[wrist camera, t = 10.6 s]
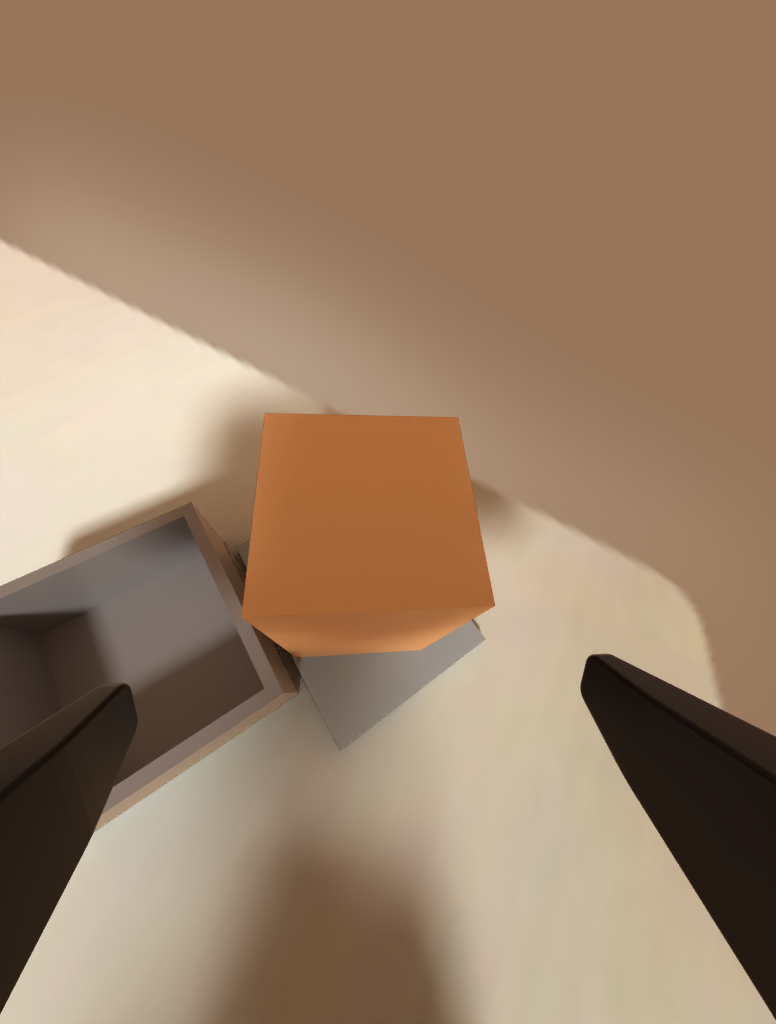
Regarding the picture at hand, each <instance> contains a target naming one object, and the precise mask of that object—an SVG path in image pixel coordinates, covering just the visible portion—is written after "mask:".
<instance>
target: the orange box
mask: <svg viewBox="0 0 776 1024" xmlns="http://www.w3.org/2000/svg"><path fill="white" fill-rule="evenodd" d="M494 606H495V603H494V598H493V593H492V588H491V582H490V577H489V572H488V567H487V562H486V557H485V552H484V547H483V542H482V537H481V532H480V527H479V522H478V517H477V511H476V506H475V501H474V496H473V491H472V486H471V481H470V476H469V471H468V466H467V461H466V456H465V451H464V446H463V441H462V435H461V431H460V425H459V420H458V417H457V418H456V417H412V416H410V417H409V416H367V415H366V416H365V415H321V414H274V413H265V418H264V427H263V435H262V444H261V452H260V461H259V470H258V478H257V487H256V496H255V504H254V513H253V521H252V530H251V539H250V547H249V556H248V565H247V573H246V582H245V590H244V599H243V608H242V616H241V617H242V618H243V619H245V620H246V621H247V622H249V623H250V624H251V625H253V626H254V627H255V628H257V629H258V630H260V631H261V632H262V633H264V634H265V635H266V636H268V637H269V638H270V639H272V640H273V641H274V642H276V643H277V644H279V645H280V646H281V647H283V648H284V649H285V650H287V651H288V652H289V653H291V654H292V655H293V656H295V657H296V658H297V657H314V656H331V655H348V654H365V653H382V652H399V651H415V650H422V649H423V648H425V647H427V646H428V645H430V644H432V643H433V642H435V641H437V640H438V639H440V638H442V637H443V636H445V635H447V634H448V633H450V632H452V631H454V630H455V629H457V628H459V627H460V626H462V625H464V624H465V623H467V622H469V621H470V620H472V619H474V618H475V617H477V616H479V615H480V614H482V613H484V612H485V611H487V610H489V609H490V608H492V607H494Z"/></svg>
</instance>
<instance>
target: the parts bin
mask: <svg viewBox="0 0 776 1024" xmlns="http://www.w3.org/2000/svg"><path fill="white" fill-rule="evenodd" d="M244 590H245V585H244V583H243V581H242V579H241V577H240V575H239V573H238V571H237V569H236V567H235V565H234V563H233V561H232V559H231V557H230V555H229V553H228V551H227V549H226V547H225V545H224V543H223V541H222V540H221V538H220V537H219V536H218V535H217V533H216V532H215V531H214V530H213V528H212V527H211V526H210V525H209V523H208V522H207V521H206V520H205V518H204V517H203V516H202V515H201V514H200V512H199V511H198V510H197V509H196V507H195V506H194V505H193V504H192V502H191V503H189V504H186V505H184V506H182V507H180V508H177V509H175V510H173V511H170V512H168V513H166V514H164V515H161V516H159V517H157V518H154V519H152V520H150V521H148V522H145V523H143V524H141V525H139V526H136V527H134V528H132V529H129V530H127V531H125V532H123V533H120V534H118V535H116V536H113V537H111V538H109V539H107V540H104V541H102V542H100V543H98V544H95V545H93V546H91V547H88V548H86V549H84V550H82V551H79V552H77V553H75V554H72V555H70V556H68V557H66V558H63V559H61V560H59V561H56V562H54V563H52V564H50V565H47V566H45V567H43V568H41V569H38V570H36V571H34V572H31V573H29V574H27V575H25V576H22V577H20V578H18V579H15V580H13V581H11V582H9V583H6V584H4V585H2V586H0V748H1V747H3V746H5V745H6V744H8V743H9V742H11V741H12V740H14V739H16V738H17V737H19V736H20V735H22V734H24V733H25V732H27V731H28V730H30V729H32V728H33V727H35V726H36V725H38V724H40V723H41V722H43V721H44V720H46V719H48V718H49V717H51V716H52V715H54V714H56V713H57V712H59V711H60V710H62V709H63V708H65V707H67V706H68V705H70V704H71V703H73V702H75V701H76V700H78V699H79V698H81V697H83V696H84V695H86V694H87V693H89V692H91V691H92V690H94V689H95V688H97V687H99V686H101V685H105V684H117V683H125V684H128V685H129V686H130V687H131V690H132V695H133V699H134V703H135V707H136V712H137V716H138V725H137V729H136V733H135V735H134V738H133V740H132V742H131V745H130V747H129V750H128V752H127V755H126V757H125V759H124V762H123V764H122V767H121V769H120V771H119V774H118V776H117V779H116V781H115V783H114V786H113V788H112V791H111V793H110V795H109V798H108V800H107V803H106V805H105V808H104V810H103V812H102V815H101V817H100V819H99V821H98V824H97V826H96V828H95V831H96V830H98V829H99V828H101V827H102V826H104V825H105V824H107V823H108V822H110V821H111V820H113V819H114V818H115V817H117V816H118V815H120V814H121V813H123V812H124V811H126V810H127V809H129V808H130V807H132V806H133V805H135V804H136V803H138V802H139V801H141V800H142V799H143V798H145V797H146V796H148V795H149V794H151V793H152V792H154V791H155V790H157V789H158V788H160V787H161V786H163V785H164V784H166V783H167V782H169V781H170V780H172V779H173V778H174V777H176V776H177V775H179V774H180V773H182V772H183V771H185V770H186V769H188V768H189V767H191V766H192V765H194V764H195V763H197V762H198V761H200V760H201V759H202V758H204V757H205V756H207V755H208V754H210V753H211V752H213V751H214V750H216V749H217V748H219V747H220V746H222V745H223V744H225V743H226V742H228V741H229V740H230V739H232V738H233V737H235V736H236V735H238V734H239V733H241V732H242V731H244V730H245V729H247V728H248V727H250V726H251V725H253V724H254V723H256V722H257V721H259V720H260V719H261V718H263V717H264V716H266V715H267V714H269V713H270V712H272V711H273V710H275V709H276V708H278V707H279V706H281V705H282V704H284V703H285V702H287V701H288V700H289V699H291V698H292V697H294V696H295V695H297V694H298V691H297V689H296V687H295V685H294V683H293V681H292V679H291V677H290V675H289V673H288V671H287V669H286V667H285V665H284V663H283V661H282V659H281V657H280V655H279V653H278V651H277V649H276V647H275V645H274V643H273V641H272V639H270V638H269V637H268V636H266V635H265V634H264V633H262V632H261V631H260V630H258V629H257V628H255V627H254V626H253V625H251V624H250V623H249V622H247V621H246V620H245V619H243V618H242V617H241V616H242V608H243V599H244ZM95 831H94V832H95Z"/></svg>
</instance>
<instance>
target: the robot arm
mask: <svg viewBox="0 0 776 1024" xmlns="http://www.w3.org/2000/svg"><path fill="white" fill-rule="evenodd" d="M581 694H582V697H583V699H584V701H585V703H586V705H587V707H588V709H589V711H590V713H591V715H592V717H593V719H594V721H595V723H596V725H597V726H598V728H599V730H600V732H601V734H602V736H603V738H604V740H605V742H606V744H607V746H608V748H609V750H610V751H611V753H612V755H613V757H614V759H615V761H616V763H617V765H618V767H619V768H620V770H621V772H622V774H623V776H624V777H625V779H626V781H627V782H628V784H629V786H630V787H631V789H632V791H633V792H634V794H635V796H636V797H637V799H638V800H639V802H640V804H641V805H642V807H643V808H644V810H645V812H646V813H647V815H648V816H649V818H650V820H651V821H652V823H653V824H654V826H655V828H656V829H657V831H658V832H659V834H660V836H661V837H662V839H663V840H664V842H665V844H666V845H667V847H668V848H669V850H670V852H671V853H672V855H673V856H674V858H675V860H676V861H677V863H678V864H679V866H680V868H681V869H682V871H683V872H684V874H685V876H686V877H687V879H688V880H689V882H690V884H691V885H692V887H693V888H694V890H695V892H696V893H697V895H698V896H699V898H700V900H701V901H702V903H703V904H704V906H705V908H706V909H707V911H708V912H709V914H710V916H711V917H712V919H713V920H714V922H715V924H716V925H717V927H718V928H719V930H720V932H721V933H722V935H723V936H724V938H725V940H726V941H727V943H728V944H729V946H730V948H731V949H732V951H733V952H734V954H735V956H736V957H737V959H738V960H739V962H740V964H741V965H742V967H743V968H744V970H745V972H746V973H747V975H748V976H749V978H750V980H751V981H752V983H753V984H754V986H755V988H756V989H757V991H758V992H759V994H760V996H761V997H762V999H763V1000H764V1002H765V1004H766V1005H767V1007H768V1008H769V1010H770V1012H771V1013H772V1015H773V1016H774V1018H775V1020H776V737H775V736H773V735H771V734H769V733H767V732H765V731H763V730H761V729H759V728H757V727H755V726H753V725H751V724H749V723H747V722H745V721H743V720H741V719H739V718H737V717H735V716H733V715H731V714H729V713H727V712H725V711H723V710H721V709H719V708H717V707H715V706H713V705H711V704H709V703H707V702H705V701H703V700H701V699H699V698H697V697H695V696H693V695H691V694H689V693H687V692H685V691H683V690H681V689H679V688H677V687H675V686H673V685H671V684H669V683H667V682H665V681H663V680H661V679H659V678H657V677H655V676H653V675H651V674H649V673H647V672H645V671H643V670H641V669H639V668H637V667H635V666H633V665H631V664H629V663H627V662H625V661H623V660H621V659H619V658H617V657H615V656H613V655H611V654H593V655H590V656H589V657H588V658H587V660H586V664H585V668H584V672H583V677H582V681H581ZM137 725H138V716H137V712H136V707H135V703H134V699H133V695H132V690H131V687H130V686H129V685H128V684H125V683H117V684H105V685H101V686H99V687H97V688H95V689H94V690H92V691H91V692H89V693H87V694H86V695H84V696H83V697H81V698H79V699H78V700H76V701H75V702H73V703H71V704H70V705H68V706H67V707H65V708H63V709H62V710H60V711H59V712H57V713H56V714H54V715H52V716H51V717H49V718H48V719H46V720H44V721H43V722H41V723H40V724H38V725H36V726H35V727H33V728H32V729H30V730H28V731H27V732H25V733H24V734H22V735H20V736H19V737H17V738H16V739H14V740H12V741H11V742H9V743H8V744H6V745H5V746H3V747H1V748H0V1014H1V1012H2V1010H3V1008H4V1006H5V1004H6V1002H7V1000H8V998H9V996H10V994H11V992H12V990H13V988H14V987H15V985H16V983H17V981H18V979H19V977H20V975H21V973H22V971H23V969H24V967H25V965H26V963H27V961H28V959H29V958H30V956H31V954H32V952H33V950H34V948H35V946H36V944H37V942H38V940H39V938H40V936H41V934H42V932H43V930H44V928H45V927H46V925H47V923H48V921H49V919H50V917H51V915H52V913H53V911H54V909H55V907H56V905H57V903H58V901H59V899H60V897H61V896H62V894H63V892H64V890H65V888H66V886H67V884H68V882H69V880H70V878H71V876H72V874H73V872H74V870H75V868H76V866H77V865H78V863H79V861H80V859H81V857H82V855H83V853H84V851H85V849H86V847H87V845H88V843H89V841H90V839H91V837H92V835H93V833H94V831H95V828H96V826H97V824H98V821H99V819H100V817H101V815H102V812H103V810H104V808H105V805H106V803H107V800H108V798H109V795H110V793H111V791H112V788H113V786H114V783H115V781H116V779H117V776H118V774H119V771H120V769H121V767H122V764H123V762H124V759H125V757H126V755H127V752H128V750H129V747H130V745H131V742H132V740H133V738H134V735H135V733H136V729H137Z"/></svg>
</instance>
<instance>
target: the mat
mask: <svg viewBox="0 0 776 1024" xmlns="http://www.w3.org/2000/svg"><path fill="white" fill-rule="evenodd" d="M249 547H250V540H249V541H247V542H245V543H243V544H241V545H239V546H237V547H236V548H237V550H238V552H239V554H240V556H241V558H242V560H243V562H244V564H245V566H246V568H247V565H248V556H249ZM484 640H485V638H484V637H483V635H482V634H481V632H480V631H479V630H478V628H477V627H476V625H475V624H474V623H473V621H472V620H470V621H469V622H467V623H465V624H464V625H462V626H460V627H459V628H457V629H455V630H454V631H452V632H450V633H448V634H447V635H445V636H443V637H442V638H440V639H438V640H437V641H435V642H433V643H432V644H430V645H428V646H427V647H425V648H423V649H422V650H415V651H399V652H382V653H365V654H348V655H331V656H314V657H297V658H296V657H295V656H293V655H292V654H291V653H290V654H291V656H292V658H293V660H294V662H295V664H296V666H297V668H298V670H299V672H300V674H301V676H302V678H303V680H304V682H305V684H306V686H307V688H308V690H309V692H310V693H311V695H312V697H313V699H314V701H315V703H316V705H317V707H318V709H319V711H320V713H321V715H322V717H323V719H324V721H325V723H326V725H327V727H328V729H329V731H330V733H331V735H332V737H333V739H334V741H335V742H336V744H337V746H338V748H339V750H340V751H341V750H342V749H343V748H344V747H346V746H347V745H348V744H350V743H351V742H352V741H354V740H355V739H356V738H358V737H359V736H360V735H361V734H363V733H364V732H365V731H367V730H368V729H369V728H371V727H372V726H373V725H374V724H376V723H377V722H378V721H380V720H381V719H382V718H384V717H385V716H386V715H387V714H389V713H390V712H391V711H393V710H394V709H395V708H397V707H398V706H399V705H400V704H402V703H403V702H404V701H406V700H407V699H408V698H410V697H411V696H412V695H414V694H415V693H416V692H417V691H419V690H420V689H421V688H423V687H424V686H425V685H427V684H428V683H429V682H430V681H432V680H433V679H434V678H436V677H437V676H438V675H440V674H441V673H442V672H443V671H445V670H446V669H447V668H449V667H450V666H451V665H453V664H454V663H455V662H456V661H458V660H459V659H460V658H462V657H463V656H464V655H466V654H467V653H468V652H470V651H471V650H472V649H473V648H475V647H476V646H477V645H479V644H480V643H481V642H483V641H484Z"/></svg>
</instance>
